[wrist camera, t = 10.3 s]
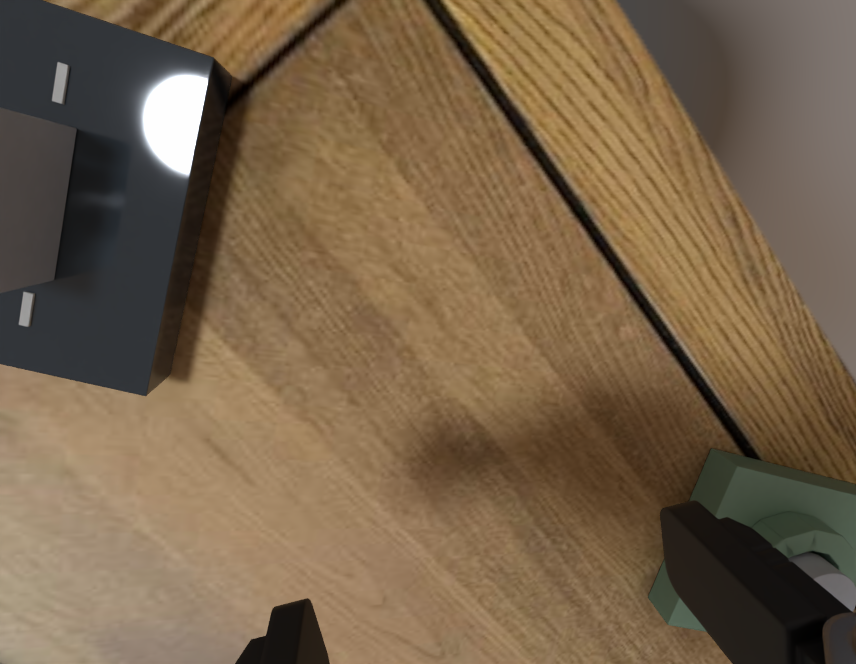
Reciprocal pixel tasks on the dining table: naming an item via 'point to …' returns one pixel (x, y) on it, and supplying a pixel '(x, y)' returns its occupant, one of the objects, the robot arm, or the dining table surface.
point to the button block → (771, 517)
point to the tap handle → (32, 196)
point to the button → (827, 577)
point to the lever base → (112, 192)
